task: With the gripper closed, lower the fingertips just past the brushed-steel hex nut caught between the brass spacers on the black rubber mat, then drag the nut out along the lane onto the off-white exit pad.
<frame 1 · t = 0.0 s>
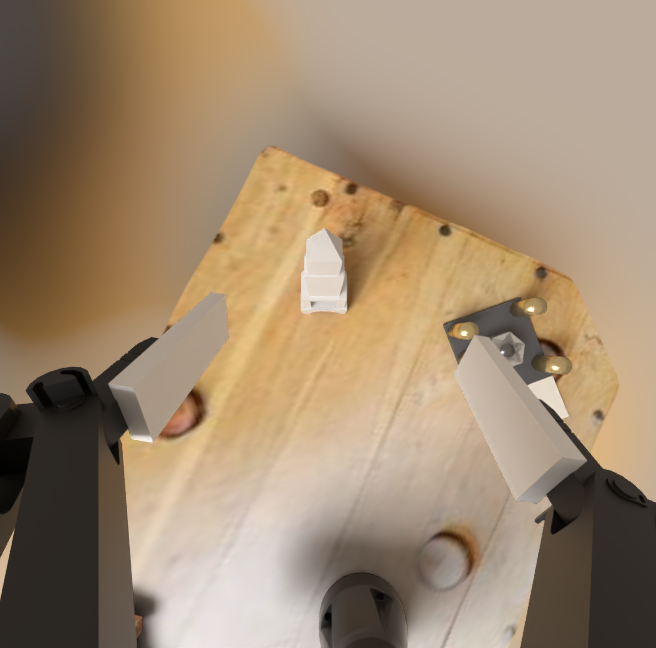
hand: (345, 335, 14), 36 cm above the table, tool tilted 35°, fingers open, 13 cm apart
sculpture 2: (324, 296, 51), on the table
spacers: (506, 347, 47), on the mat, point 3 cm above the table
mat: (503, 369, 50), on the table
nut: (498, 350, 49), point 1 cm above the table, touching mat
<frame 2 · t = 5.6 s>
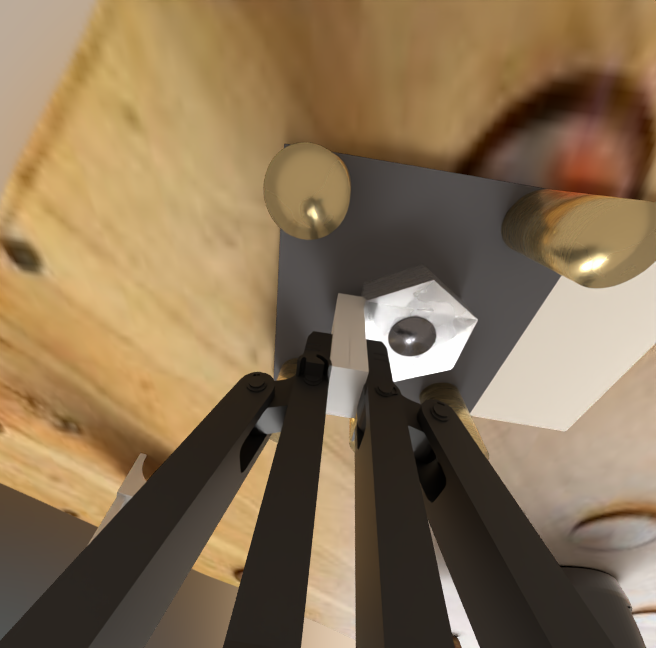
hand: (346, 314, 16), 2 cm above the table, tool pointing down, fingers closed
sculpture 2: (166, 476, 32), on the table
spacers: (398, 334, 14), on the mat, point 3 cm above the table
mat: (458, 320, 17), on the table
nut: (404, 315, 17), point 1 cm above the table, touching gripper
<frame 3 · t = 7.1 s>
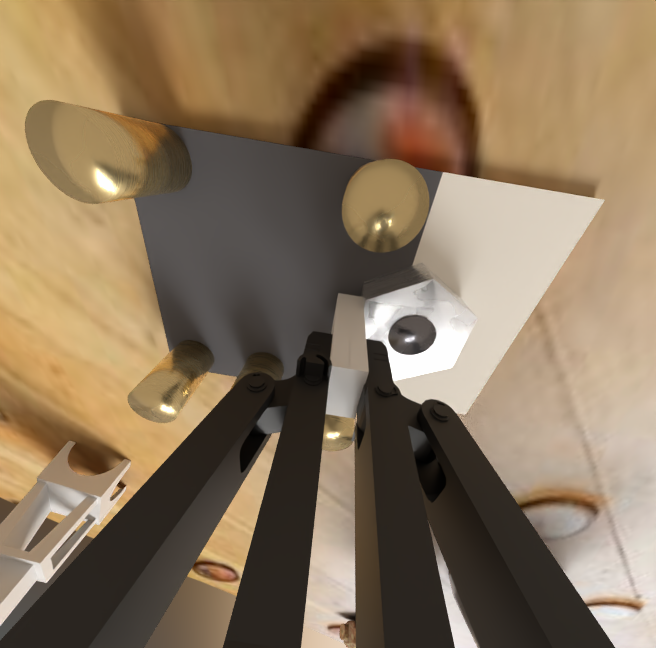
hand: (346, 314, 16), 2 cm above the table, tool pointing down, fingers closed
sculpture 2: (101, 465, 32), on the table
sculpture: (380, 622, 60), on the table
spacers: (253, 310, 15), on the mat, point 3 cm above the table
mat: (335, 299, 17), on the table
nut: (404, 314, 17), point 1 cm above the table, touching gripper, mat
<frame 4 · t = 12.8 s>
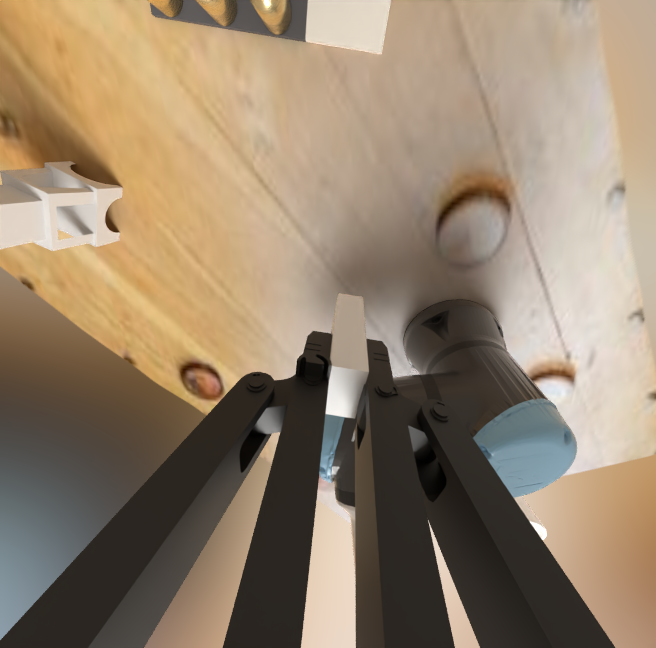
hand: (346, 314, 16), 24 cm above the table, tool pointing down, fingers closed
sculpture 2: (97, 203, 38), on the table
cup: (470, 453, 61), on the table
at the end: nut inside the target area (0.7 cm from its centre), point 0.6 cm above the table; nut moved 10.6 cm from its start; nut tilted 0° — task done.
